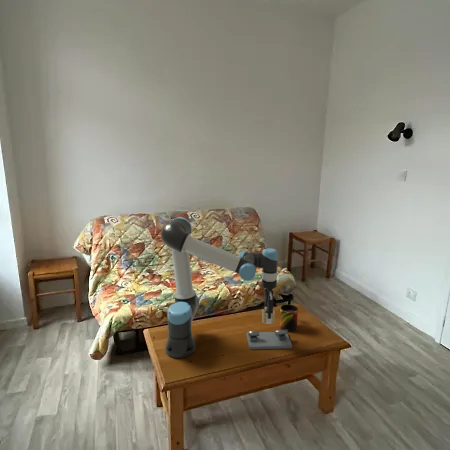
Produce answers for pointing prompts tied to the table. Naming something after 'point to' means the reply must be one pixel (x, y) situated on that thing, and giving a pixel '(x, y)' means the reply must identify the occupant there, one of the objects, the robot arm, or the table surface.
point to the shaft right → (281, 334)
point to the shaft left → (253, 335)
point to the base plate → (269, 341)
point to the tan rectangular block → (265, 316)
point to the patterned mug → (288, 317)
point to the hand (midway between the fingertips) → (267, 320)
